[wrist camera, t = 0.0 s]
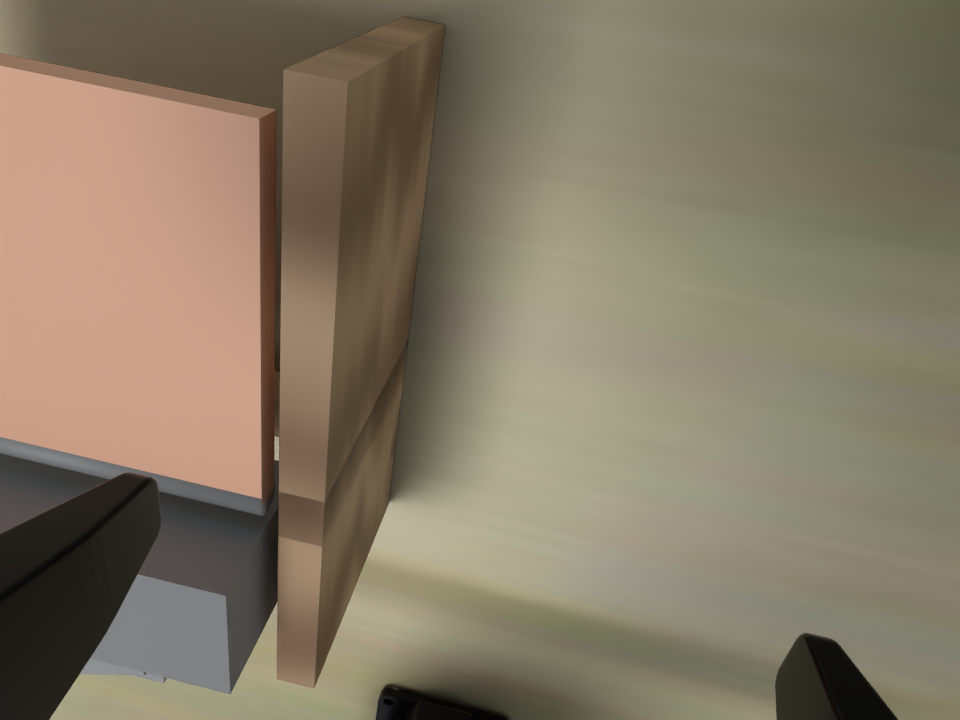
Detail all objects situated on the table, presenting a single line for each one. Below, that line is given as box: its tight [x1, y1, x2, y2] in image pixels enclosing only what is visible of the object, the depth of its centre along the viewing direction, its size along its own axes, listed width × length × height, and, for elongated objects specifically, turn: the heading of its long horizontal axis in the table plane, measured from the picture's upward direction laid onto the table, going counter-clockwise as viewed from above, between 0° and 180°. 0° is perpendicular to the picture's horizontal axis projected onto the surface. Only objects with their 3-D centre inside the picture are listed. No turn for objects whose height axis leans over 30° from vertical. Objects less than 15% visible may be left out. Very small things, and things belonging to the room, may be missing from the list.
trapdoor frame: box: [274, 17, 445, 688], centre depth 22 cm, size 18×17×8 cm
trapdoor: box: [0, 53, 279, 694], centre depth 19 cm, size 15×14×5 cm
